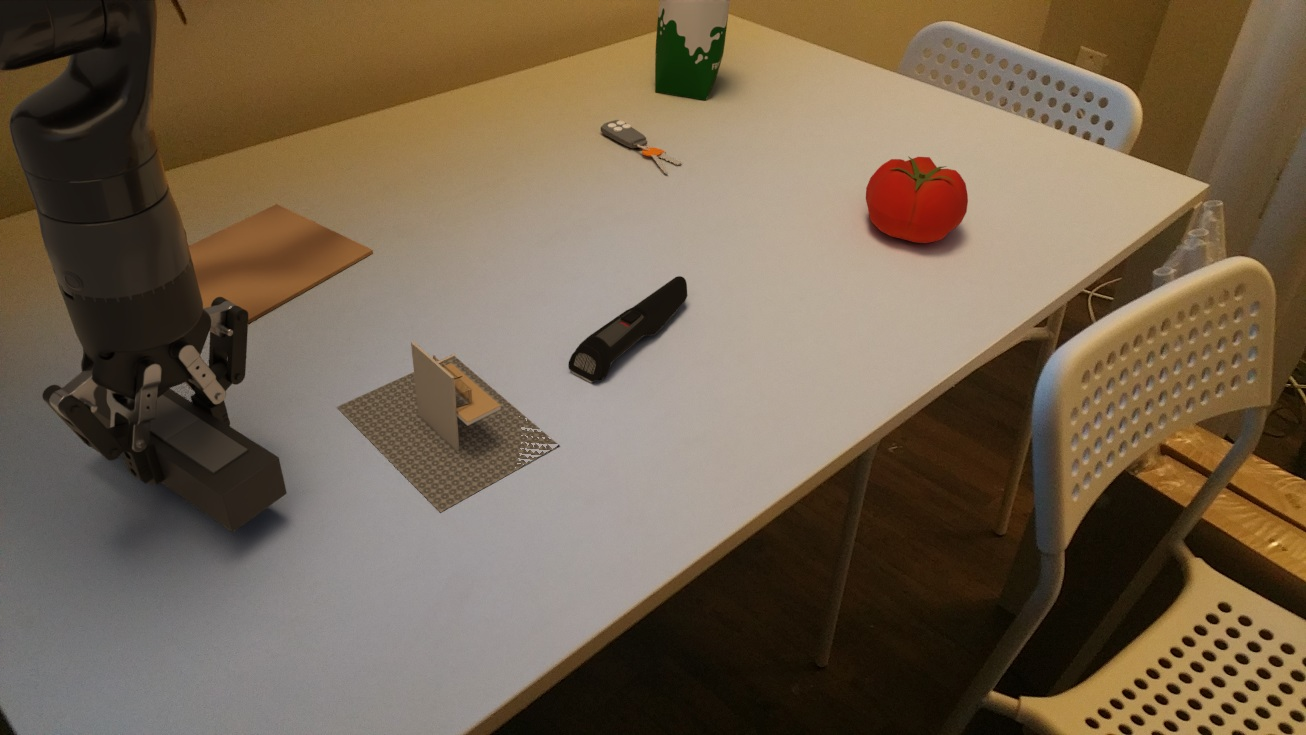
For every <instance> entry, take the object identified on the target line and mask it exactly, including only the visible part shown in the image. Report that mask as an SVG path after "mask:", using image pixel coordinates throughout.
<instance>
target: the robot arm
mask: <svg viewBox="0 0 1306 735" xmlns="http://www.w3.org/2000/svg"><path fill="white" fill-rule="evenodd" d="M157 27H158V0H0V73H4V72H14V71H17V70H22V69H26V68H29V67H33V66H38V65H40V64H44V63H47V62H51V61H54V60H55V61H56V60H59V59H62V58H66V57H69V58H68V61H67V65H66V67H65V68H64V70H63V71H62V72H61V73H60V74H59V75H57V77H56V78H54V79H53V80H52V81H50V82H49V83H47V84H46V85H44V86H42V87H40V88H39V89H37V90H36V91H34V92H33V93H31V94H29V95H27V96H26V97H25V98H23V99H22V100H21V101H20V102H19V103H18V104H17V105H16V106H14V108H13V109H12V112H11V113H10V116H9V121H8V131H9V134H10V138H11V143H12V145H13V148H14V151H15V154H16V157H17V160H18V163H19V164H20V166H21V170H22V172H23V175H24V178H25V181H26V184H27V186H28V189H29V192H30V195H31V198H32V200H33V203H34V207H35V210H36V214H37V219H38V225H39V231H40V236H41V240H42V242H43V247H44V249H45V251H46V255H47V258H48V260H49V263H50V265H51V268H52V271H53V274H54V277H55V280H56V282H57V286H58V288H59V291H60V294H61V296H62V299H63V301H64V304H65V307H66V310H67V312H68V315H69V318H70V321H71V324H72V327H73V330H74V332H75V334H76V337H77V338H78V341H79V344H80V345H81V347H82V358H81V361H80V362H81V363H80V367H81V368H80V369H81V372H79V374H78V375H76V376H75V377H74V378H73V379H71V380H70V381H69V382H67V383H66V384H65V385H64V386H63V387H61V386H60V385H58V384H52V385H49V386H47V387H46V388H45V389H44V390H43V391H42V395H41V396H42V400H43V401H44V402H45V403H46V404H47V406H48V407H50V408H51V410H52V411H53V412H54V413H55V414H56V415H57V416H58V417H59V418H60V419H61V420H62V421H63V422H64V423H65V424H66V426H67V427H68V428H69V429H70V430H71V431H72V432H73V433H74V434H75V435H76V436H77V437H78V439H80V440H81V442H82V443H84V444H85V445H86V446H88V448H91V449H93V450H95V451H96V452H98V453H99V454H100V455H101V456H102V457H103V458H105V459H106V460H107V461H115V460H117V459H118V458H119V457H120V456H122V455H123V456H122V457H123V460H124V464H125V466H126V469H127V471H128V472H129V474H131V475H133V476H134V477H136V478H137V479H138V480H140V481H141V482H143V483H144V484H147V483H150V484H151V485H153V486H155V487H156V486H158V485H159V484H160V483H161V482H162V481H164V476H163V473H162V470H161V467H160V464H159V461H158V458H157V455H156V449H155V446H154V444H153V443H151V442H150V441H149V439H150V423H151V420H154V419H155V418H156V407H157V398H158V397H160V396H161V395H162V394H164V393H165V392H166V391H167V390H168V389H169V388H170V389H171V388H174V387H177V386H180V385H182V384H184V383H185V384H186V386H187V387H188V388H189V389H190V390H191V391H192V392H194V394H192V395H190V401H191V402H192V403H193V404H195V405H197V406H198V407H200V408H201V409H203V410H204V411H206V412H208V413H209V414H211V415H213V416H214V417H216V418H217V419H219V420H220V421H222V422H224V423H225V424H227V425H228V426H230V427H231V422H230V418H229V414H228V409H227V406H226V403H225V399H226V397H227V391H228V389H229V388H230V387H231V386H232V385H234V386H235V385H239V384H241V383H242V382H243V381H244V380H245V378H246V370H247V368H246V367H247V349H248V331H249V324H248V312H247V311H246V310H244V309H243V308H241V307H239V306H237V305H236V304H234V303H232V302H230V301H228V300H227V299H225V298H223V297H217V298H215V299H214V300H213V302H212V304H211V307H207V308H203V301H202V298H201V294H200V290H199V286H198V282H197V278H196V274H195V270H194V266H193V262H192V258H191V254H190V250H189V246H190V245H189V242H188V237H187V232H186V229H185V227H184V223H183V220H182V216H181V213H180V211H179V208H178V206H177V204H176V201H175V198H174V197H173V195H172V192H171V189H170V186H169V183H168V179H167V178H168V177H167V175H166V171H165V167H164V163H163V159H162V155H161V152H160V147H159V144H158V140H157V136H156V132H155V129H154V121H153V112H154V111H153V110H154V82H155V81H154V80H155V79H154V78H155V61H156V60H155V58H156V44H157V30H158V28H157ZM208 336H209V346H208V347H209V349H208V350H209V352H208V364H207V363H206V362H205V360H204V359H203V358H202V357H201V356H202V352H203V349H204V347H205V344H206V342H207V338H208ZM98 386H101V387H103V388H106V389H107V404H108V406H109V407H110V409H111V421H110V428H106V427H105V426H104V425H103V424H102V423H101V422H100V421H99V419H98V418H97V417H96V416H95V415H94V414H93V413H95V412H96V411H97V410H98V407H97V406H96V399H95V397H94V392H95V390H96V388H97V387H98ZM121 454H122V455H121ZM161 484H162V483H161Z"/></svg>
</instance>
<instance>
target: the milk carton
mask: <svg viewBox="0 0 1306 735" xmlns="http://www.w3.org/2000/svg"><path fill="white" fill-rule="evenodd" d="M730 3H731V0H658V12H657V24H656V36H655V38H656V40H655V54H654V57H655V58H654V62H655V63H654V65H655V66H654V92H655V93H659V94H660V93H661V94H666V95H671V96H672V95H673V96H676V97H684V98H689V99H694V100H695V99H696V100H700V101H707V99H708V97H709V95H710V94H711V93H710V92H711V91H712V88H713V87H714V85H715V83H716V80H717V77H718V73H719V70H720V67H721V63H722V60H723V57H724V51H725V44H726V37H727V36H726V35H727V28H728V21H729V20H728V19H729V12H730Z"/></svg>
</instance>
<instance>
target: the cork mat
mask: <svg viewBox="0 0 1306 735" xmlns="http://www.w3.org/2000/svg"><path fill="white" fill-rule="evenodd" d="M188 246H189V250H190V254H191V258H192V262H193V266H194V270H195V274H196V278H197V282H198V286H199V290H200V294H201V298H202V301H203V308H207V307H211V304H212V302H213V300H214V299H215V298H217V297H223V298H225V299H227V300H228V301H230V302H232V303H234V304H236V305H237V306H239V307H241V308H243V309H244V310H246V311H247V312H248V325H249V324H251V323H252V322H254V321H255V320H257V319H259V318H261V317H263V316H264V315H266V314H268V313H270V312H271V311H273V310H275V309H277V308H278V307H281V306H283V304H286V303H288V302H290V301H291V300H293V299H295V298H296V297H298V296H301V295H302V294H303V293H305V292H307V291H309V290H311V289H312V288H314V287H316V286H317V285H319V284H321V283H323V282H325V281H326V280H328V279H330V278H333V276H335V275H337V274H338V273H340V272H342V271H343V270H346V269H348V268H350V267H351V266H353V265H354V264H356V263H358V262H360V261H362V260H363V259H365V258H367V257H369V256H370V255H372V254H374V249H372V248H370V247H368V246H365V245H364V244H361V243H359V242H358V241H355V240H353V239H351V238H349V237H347V236H345V235H343V234H341V233H338V232H336V231H335V230H332V229H330V228H328V227H326V226H324V225H322V224H320V223H317V222H316V221H313V220H312V219H309V218H307V217H305V216H303V215H301V214H299V213H297V212H294V211H292V210H290V209H288V208H286V207H284V206H282V205H280V204H277V203H276V204H274V205H272V206H271V205H270V206H269V207H267V208H265V209H263V210H261V211H258V212H257V213H255V214H253V215H251V216H248V217H246V218H244V219H242V220H240V221H238V222H236V223H234V224H232V225H229V226H227V227H225V228H223V229H221V230H218V231H217V232H215V233H213V234H211V235H208V236H206V237H204V238H202V239H200V240H198V241H196V242H194V243H192V244H190V245H188Z"/></svg>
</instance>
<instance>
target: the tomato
mask: <svg viewBox="0 0 1306 735" xmlns="http://www.w3.org/2000/svg"><path fill="white" fill-rule="evenodd" d="M947 167H948V166H947V165H946V166H944V165H943V166H937V165H936V164H935V162H934V161H933V159H931V157H930V156H915V157H913V158H911V157H910V156H908V159H907V160H905V159H902V158H890V159H889V160H888V161H886V162H884V163H883V164H881V165H880V166H879V167H878V168H877V169H876V170H875V172H873V174H872V175H871V177H870V178H869V180H868V182H867V185H866V188H865V202H866V206H867V211H868V216H869V220H870V222H871V223H872V224H873V225H874V226H875V227H876V228H877V229H878V230H879V231H881V232H882V233H883V234H886V235H888V236H889V237H893V238H897V239H900V240H905V241H909V242H912V243H919V244H928V243H933V242H939V241H942V240H943V239H944V238H945V237H946V236H947V235H948V234H949V233H950V232H951V231H953V230H954V229H956V228H957V227H958V226H959V225H960V224H961V223H962V222H963V221H964V218H965V217H966V214H967V211H968V203H969V197H968V196H969V195H968V189H967V184H966V182H965V180H964V178H963V177H962V175H961V174H960V173H959V172H958V171H957V170H955V169H952V168H947Z"/></svg>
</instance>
